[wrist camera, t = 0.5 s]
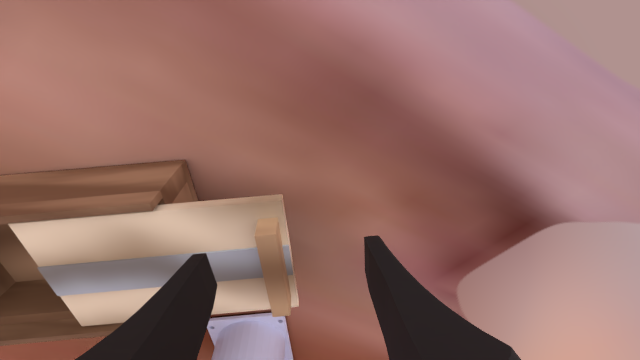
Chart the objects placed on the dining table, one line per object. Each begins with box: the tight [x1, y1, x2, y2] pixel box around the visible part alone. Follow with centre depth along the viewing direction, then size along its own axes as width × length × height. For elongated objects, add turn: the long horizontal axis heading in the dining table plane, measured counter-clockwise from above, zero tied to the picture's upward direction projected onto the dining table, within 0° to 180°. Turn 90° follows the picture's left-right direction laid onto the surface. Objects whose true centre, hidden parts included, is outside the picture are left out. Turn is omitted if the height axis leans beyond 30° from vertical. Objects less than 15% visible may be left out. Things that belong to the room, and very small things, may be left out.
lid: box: [8, 194, 299, 326], centre depth 19 cm, size 9×16×2 cm, turn 94°
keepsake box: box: [0, 160, 198, 346], centre depth 22 cm, size 11×18×6 cm, turn 94°
